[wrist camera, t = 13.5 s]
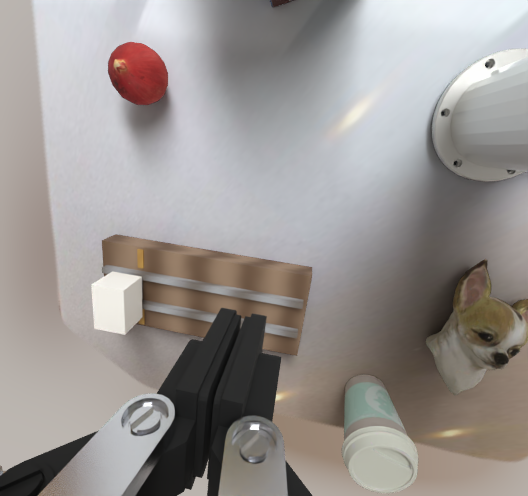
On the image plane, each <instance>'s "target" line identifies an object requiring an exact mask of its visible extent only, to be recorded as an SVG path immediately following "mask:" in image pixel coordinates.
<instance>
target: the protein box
mask: <svg viewBox="0 0 528 496" xmlns="http://www.w3.org/2000/svg"><path fill="white" fill-rule="evenodd" d="M290 1H293V0H270V2H271V6H272V7H276V6H279V5H282V4H285V3H288V2H290Z"/></svg>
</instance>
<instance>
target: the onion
mask: <svg viewBox="0 0 528 496" xmlns="http://www.w3.org/2000/svg"><path fill="white" fill-rule="evenodd" d="M108 73H109V76H110V79H111V82H112V85H113V86H114V87H115V89H116V90H117V91H118V93H119V94H120V95H121V96H122V97H123V98H125V99H127V100H128V101H130V102H132V103H134V104H136V105H149V104H152V103H154V102H157V101H159V100H160V98H161V97H162V96H163V95H164V94H165V91H166V88H167V86H168V72H167V69H166V66H165V63H164V62H163V60H162V59H161V58H160V56H159V55H158V54H157V53H156V52H155V51H154V50H152V49H151V48H149V47H148V46H146V45H144V44H141V43H134V42H128V43H125V44H123V45H120V46H118V47H117V48H116V49H115V50H114V51H113V52H112V54H111V56H110V59H109V62H108Z"/></svg>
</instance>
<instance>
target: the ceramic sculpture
mask: <svg viewBox="0 0 528 496" xmlns="http://www.w3.org/2000/svg"><path fill="white" fill-rule="evenodd" d="M490 293H491V281H490V278H489V274H488V270H487V260H486V259H485V260H483V261H481V262H480V263H478V264H477V265H475V266H474V267H472V268H471V269H470V270H468V271H467V272H466V273H465V275H464V276H463V277H462V278H461V279H460V281H459V282H458V285H457V287H456V289H455V296H454V298H453V309H454V311H453V312H452V314H451V316H450V318H449V320H448V321H447V322H446V324H445V325H444V327H443V329H442V330H441V331H440V332H439V333H437V334H434V335H431V336H429V337H428V338H427V340H426V345H427V347H428V348H429V349H430V350H431V352H432V354H433V356H434V359H435V365H436V367H437V369H438V371H439V374H440V375H441V377H442V379H443V381H444V382H445V384H446V385H447V387H448V389H449V391H450V392H451V393H452V394H453V395H458V394H459V393H460V392H461V391H465V390H468V389H471V388H473V387H474V386H475V385H476V384H478V383H479V382H480V381H481V380H482V378H483V376H484V374H485V372H486V370H487V369H488V370H495V369H502V368H504V367H505V366H507V364H508V362H509V359H510V358H512V357H513V356H515V355H516V354H517V353H518V352H519V351H520V348H521V347H522V346H524V345H525V344H526V343H527V340H528V299H526V300H520V301H518V302H516V303H515V304H514V305H513V306H512V307H511V306H510V305H508V304H507V303H506V302H504V301H502V300H500V299H497V298H493V297H489V295H490Z"/></svg>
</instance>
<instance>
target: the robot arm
mask: <svg viewBox="0 0 528 496" xmlns="http://www.w3.org/2000/svg"><path fill="white" fill-rule="evenodd" d="M485 63H486V64H487V68H486V67H485ZM442 111H443V112H444V115H443V116H441V112H442ZM432 140H433V144H434V148H435V151H436V153H437V155H438V156H439V158H440V160H441V161H442V162H443V163H444V165H445V166H446V167H447V168H448V169H450V170H451V171H452V172H454V173H455V174H457V175H459V176H462V177H464V178H467V179H471V180H477V181H484V182H487V181H499V180H504V179H508V178H511V177H514V176H517V175H519V174H522V173H523V172H528V49H508V50H504V51H499V52H496V53H493V54H491V55H488V56H486V57H483V58H482V59H480V60H478V61H476V62H474V63H473V64H471V65H470V66H468V67H467V68H466V69H464V70H463V71H462V72H461V73H460V74H459V75H457V76H456V77H455V78H454V79H453V80H452V81H451V83H450V84H449V85H448V87H447V88H446V89H445V91H444V92H443V94H442V96H441V98H440V100H439V102H438V104H437V107H436V110H435V113H434V116H433V122H432ZM454 161H456V165H453V164H454ZM507 169H508V171H507ZM266 319H267V316H264V315H259V314H253V313H252V314H251V317H247V316H245V318H244V321H243V324H242V326H241V315H237V311H236V310H232V309H227V308H221V309H220V311H219V313H218V314H217V316H216V318H215V320H214V321H213V323H212V325H211V327H210V329H209V330H208V332H207V334H206V336H205V338H204V339H203V341H198V340H193V339H192V340H190V341H189V343H188V344H187V346H186V348H185V349H184V351H183V352H182V354H181V355H180V357H179V359H178V360H177V362H176V363H175V365H174V367H173V368H172V370H171V371H170V373H169V375H168V376H167V378H166V379H165V381H164V383H163V384H162V386H161V387H160V389H159V391H158V392H157V394H155V393H154V394H143V395H140V396H136V397H135V398H133V399H131V400H129V401H128V402H126V403H125V404H124V405H123V406H122V407H121V408H120V409H119V410H118V411H117V412H116V413H115V414H114V415H113V416H112V417H111V418H110V419H109V420H108V421H107V423H106V424H105V425H104V426H103V427H102V428H101V429H100V430H99V431H97V432H94V433H92V434H90V435H87V436H85V437H82V438H80V439H77V440H75V441H73V442H70V443H68V444H66V445H63V446H60V447H58V448H56V449H53V450H51V451H49V452H46V453H43V454H41V455H39V456H36V457H34V458H31V459H29V460H27V461H24V462H22V463H20V464H18V465H16V466H14V467H12V468H10V469H9V470H7V471H3V470H2V466H0V496H177V495H179V494H181V493H182V492H184V490H185V488H186V489H190V490H191V489H192V486H193V483H194V480H195V477H201V478H202V476H203V474H204V471H205V468H206V465H207V462H208V459H209V462H208V474H207V479H209V482H208V493H207V496H312V494H311V493H310V492H309V491H308V489H307V488H306V487H305V485H304V484H303V483H302V481H301V480H300V479H299V478H298V476H297V475H296V473H295V472H294V471H293V469H292V468H291V467H290V466H289V464H288V463H287V462H286V460H285V449H284V440H283V436H282V434H281V432H280V430H279V429H278V427H277V426H276V425H275V424H274V423H273V422H272V419H273V412H274V405H275V398H276V391H277V384H278V377H279V370H280V363H281V357H279V356H273V355H268V354H263V353H262V348H263V341H264V334H265V327H266ZM240 326H241V329H240Z"/></svg>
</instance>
